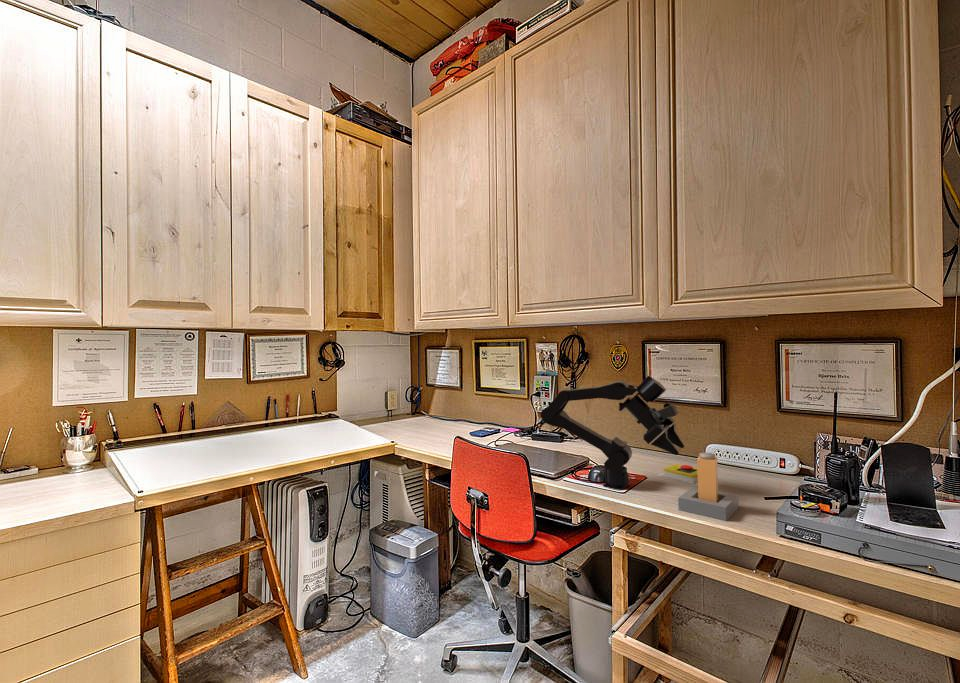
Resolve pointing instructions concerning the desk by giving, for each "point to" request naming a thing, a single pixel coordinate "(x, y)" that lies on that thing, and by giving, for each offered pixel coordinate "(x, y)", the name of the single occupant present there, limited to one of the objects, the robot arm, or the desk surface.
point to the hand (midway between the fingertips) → (680, 450)
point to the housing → (708, 504)
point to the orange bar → (707, 477)
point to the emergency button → (681, 473)
